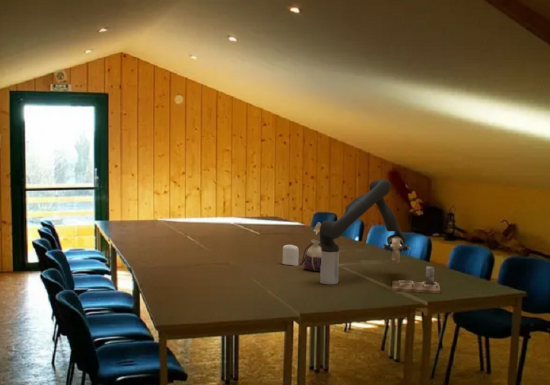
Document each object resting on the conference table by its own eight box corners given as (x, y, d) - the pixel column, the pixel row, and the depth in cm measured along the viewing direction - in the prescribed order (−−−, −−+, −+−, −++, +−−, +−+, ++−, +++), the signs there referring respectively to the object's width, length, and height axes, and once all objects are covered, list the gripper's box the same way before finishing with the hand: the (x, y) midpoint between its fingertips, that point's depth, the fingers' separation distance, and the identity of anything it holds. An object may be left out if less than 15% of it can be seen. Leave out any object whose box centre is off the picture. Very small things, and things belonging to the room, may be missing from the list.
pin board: (391, 290, 314) (392, 268, 313) (392, 283, 331) (393, 262, 330) (440, 293, 309) (441, 271, 308) (438, 286, 326) (439, 264, 325)
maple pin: (391, 262, 320) (392, 239, 319) (391, 260, 324) (392, 238, 323) (399, 262, 319) (400, 239, 319) (399, 261, 323) (400, 238, 322)
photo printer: (299, 265, 380) (299, 245, 379) (296, 266, 376) (296, 246, 375) (284, 263, 385) (285, 243, 384) (281, 264, 381) (281, 244, 380)
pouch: (294, 269, 367) (294, 237, 365) (302, 267, 373) (302, 236, 372) (329, 275, 351) (330, 241, 350) (337, 272, 358) (338, 240, 356)
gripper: (383, 237, 336) (382, 242, 320) (409, 238, 334) (410, 243, 317) (382, 251, 337) (381, 256, 320) (409, 252, 334) (409, 257, 317)
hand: (395, 250), depth 319 cm, fingers closed on maple pin, 4 cm apart
